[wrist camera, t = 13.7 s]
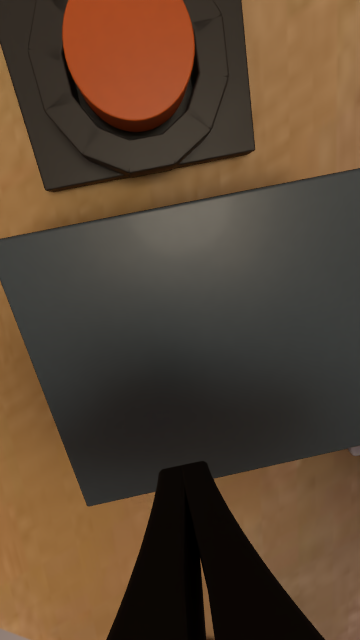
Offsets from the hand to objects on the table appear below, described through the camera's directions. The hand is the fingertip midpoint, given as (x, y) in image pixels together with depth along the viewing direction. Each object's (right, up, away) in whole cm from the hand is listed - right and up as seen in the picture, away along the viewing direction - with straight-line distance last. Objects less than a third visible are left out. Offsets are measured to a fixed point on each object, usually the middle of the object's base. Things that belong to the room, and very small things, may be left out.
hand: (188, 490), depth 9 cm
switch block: (-2, +16, +5) cm, 17 cm away
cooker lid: (+1, +4, +4) cm, 5 cm away
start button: (-2, +15, +3) cm, 15 cm away
